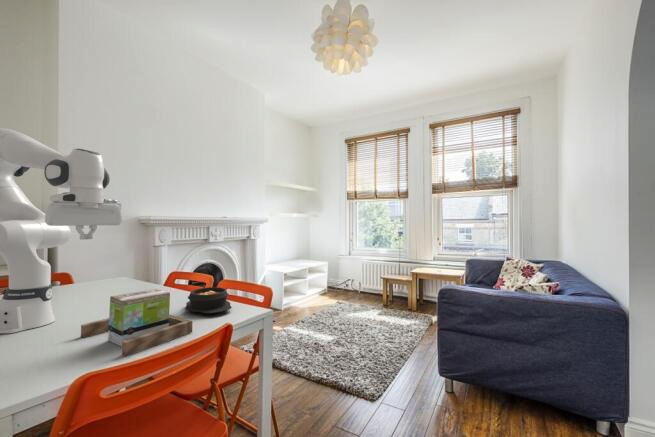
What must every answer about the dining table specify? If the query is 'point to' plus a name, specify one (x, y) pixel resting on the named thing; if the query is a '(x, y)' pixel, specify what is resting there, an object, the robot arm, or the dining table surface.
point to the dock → (143, 341)
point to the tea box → (137, 314)
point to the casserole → (208, 300)
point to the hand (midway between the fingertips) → (86, 239)
